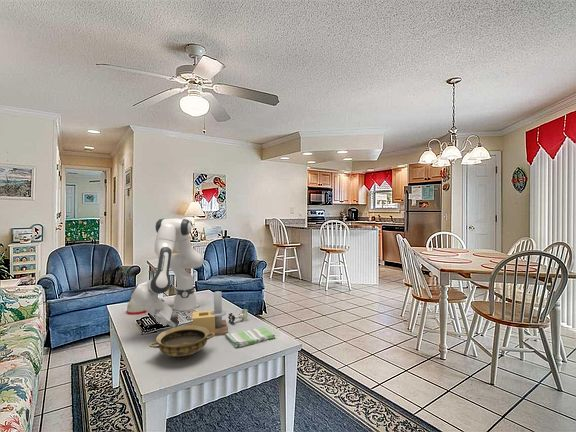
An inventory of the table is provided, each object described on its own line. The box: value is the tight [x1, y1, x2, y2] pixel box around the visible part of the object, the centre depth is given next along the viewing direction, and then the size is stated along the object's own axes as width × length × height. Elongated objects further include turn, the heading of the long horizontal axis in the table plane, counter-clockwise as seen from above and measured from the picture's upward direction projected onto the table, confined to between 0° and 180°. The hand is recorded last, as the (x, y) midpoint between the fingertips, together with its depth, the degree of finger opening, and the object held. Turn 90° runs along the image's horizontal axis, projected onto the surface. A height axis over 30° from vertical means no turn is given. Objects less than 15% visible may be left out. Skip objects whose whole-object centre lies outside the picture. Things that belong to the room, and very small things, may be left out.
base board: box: [185, 319, 229, 338], centre depth 180 cm, size 20×23×2 cm
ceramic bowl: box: [148, 325, 215, 359], centre depth 150 cm, size 30×24×10 cm
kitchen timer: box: [126, 297, 148, 316], centre depth 214 cm, size 14×14×15 cm
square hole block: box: [192, 290, 227, 331], centre depth 180 cm, size 12×18×20 cm, turn 106°
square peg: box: [170, 314, 179, 329], centre depth 175 cm, size 4×4×10 cm
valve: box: [227, 308, 249, 325], centre depth 193 cm, size 7×7×12 cm
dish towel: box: [224, 326, 276, 349], centre depth 169 cm, size 17×23×4 cm
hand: (175, 323), depth 175 cm, fingers open, 8 cm apart
